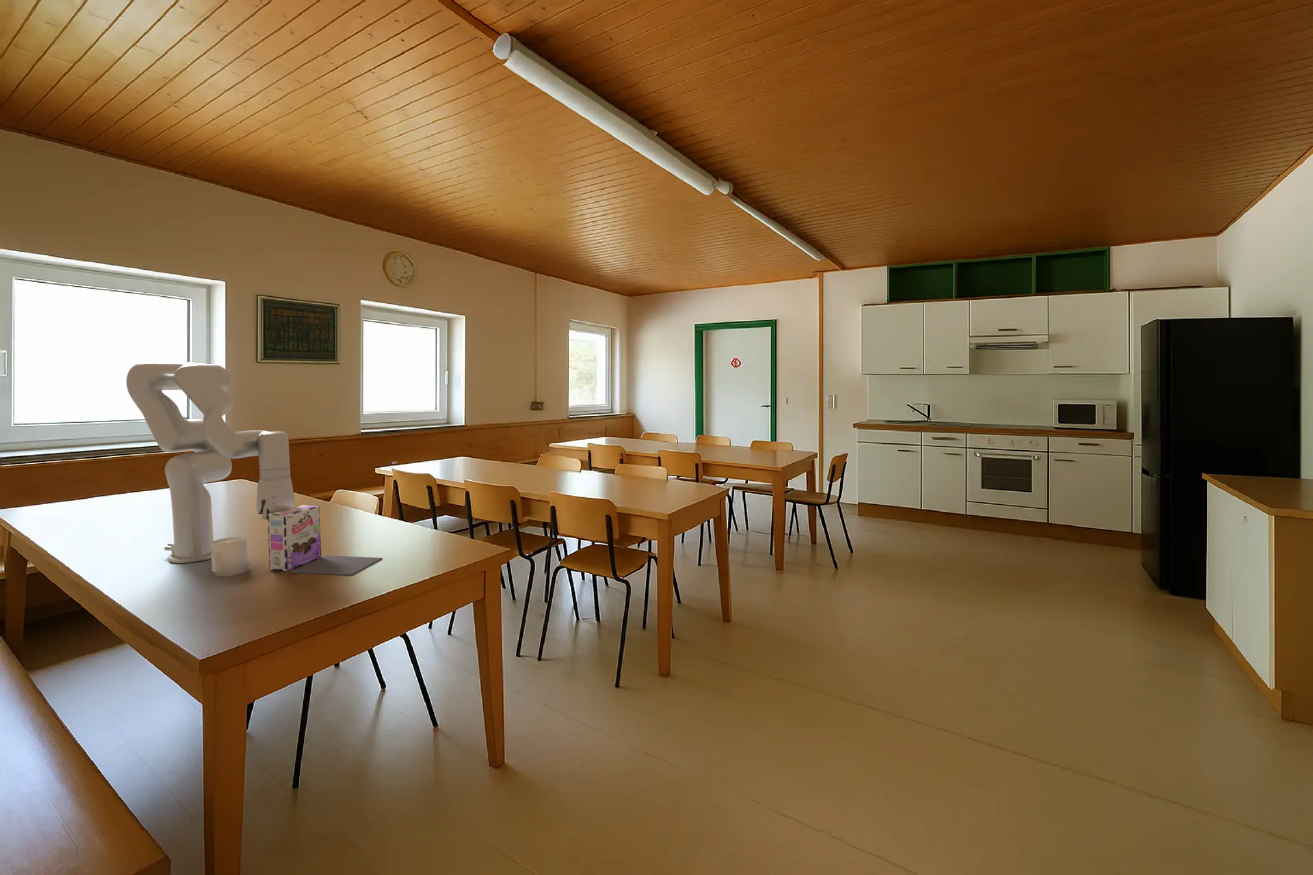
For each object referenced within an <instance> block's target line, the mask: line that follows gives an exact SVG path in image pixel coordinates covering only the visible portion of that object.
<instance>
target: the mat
mask: <svg viewBox="0 0 1313 875" xmlns="http://www.w3.org/2000/svg"><path fill="white" fill-rule="evenodd" d="M382 560H383V557H369V556H368V557H367V556H349V555H347V556H346V555H344V556H343V555H324V556H321V558H320V559H318V560H315V561H312V562H310V563H307V564H304V565H302V566H299V567H297V568H294V569H292V570H290V574H302V575H304V574H305V575H326V576H345V577H346V576H348V577H349V576H350V577H352V576H354V575H356V574H357V573H360V572H362V571H363V570H365V569H367V568H369V567H371V566H372V565H374V564H377V563H378V562H380V561H382Z"/></svg>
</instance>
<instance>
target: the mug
mask: <svg viewBox="0 0 1313 875" xmlns="http://www.w3.org/2000/svg"><path fill="white" fill-rule="evenodd" d="M212 548H213V553H211V559H210V560H211V572H213V575H214V576H216V577H231V576H237V575H240V574H245V573H247V572H248V571H249V555H248V554H249V552H248V538H247V537H246V536H245V537H244V536H230V537H224V538H219V539H216V540H214V541H213V542H212Z"/></svg>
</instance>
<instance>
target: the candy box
mask: <svg viewBox="0 0 1313 875" xmlns="http://www.w3.org/2000/svg"><path fill="white" fill-rule="evenodd" d="M320 513H321V512H320V506H319V505H309V504H308V505H306V504H302V505H300V506H299V505H298V506H295V507H293V508H291V509H287V510H283V511H279V512H275V513H270V514H268V519H267V532H268V535H267V536H268V559H269V560H268V561H269V564H268V565H269V566H268V567H269V570H271V571H281V572H288V571H292V570H295V569H298V568H300V567H302V566H304V565H306V564H309V563H311V562H313V561H315V560H318V559H320V558H322V544H321V543H322V541H321V520H320V519H321V518H320V517H321V516H320Z"/></svg>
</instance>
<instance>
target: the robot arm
mask: <svg viewBox="0 0 1313 875" xmlns="http://www.w3.org/2000/svg"><path fill="white" fill-rule="evenodd" d="M125 384H126V389H127V393H128V394H129V396H130V398H131V400H132V402H134V404H135V406H136V407H137V408H138V410H140V413H141V414H142V416H143V418H144V421H145V422H146V425H147V426H148V428H149V430H150V432H151V434H152V437H153V438H154V440H155V442H156V445H158V447H159V449H160V450H162V451H163V452H165V453H181V452H182V453H183V452H189V453H183V454H179V455H175V456H173V457H172V458H170V459H169V460H168V461H167V463H166V464H165V467H164V474H165V477H166V480H167V485H168V487H169V488H168V489H169V492H170V493H169V494H170V502H171V513H172V515H171V516H172V528H173V529H172V530H173V531H172V532H173V542H168V543H167V544H166V545H165V546H164V548H163V549H164V551H169V552H170V551H171V554H170V555H169V556H168V561H169V562H170V563H174V564H185V563H186V564H187V563H189V564H190V563H195V562H204V561H207V560H211V553H213V548H212V542H213V541H215V540H214V526H213V524H214V523H213V522H214V521H213V509H212V505H213V504H212V498H211V495H210V494H211V493H210V492H209V491H208V489H207V488H206V486H205V484H206V483H210V482H211V483H212V482H216V481H217V482H218V481H222V480H224V479H226V478H227V477H229V475H230V474H232V473H231V472H232V470H233V469H232V468H233V464H232V459H242V458H249V457H257V456H258V463H259V464H258V465H259V466H258V469H259V480H258V482H257V489H256V513H257V514H258V515H262V517H261V519H262V520H268V514H270V513H275V512H279V511H283V510H287V509H291V508H295V507H294V506H295V497H294V496H295V494H294V493H295V492H294V486H293V482H292V477H291V467H290V464H291V463H290V445H289V444H290V442H289V435H288V434H287V432H285V431H278V430H277V431H274V430H272V431H267V430H262V429H261V430H260V429H253V430H251V429H250V430H243V431H242V430H241V431H234V430H232V428H231V427H230V426H229V425H228V423H226V422H225V420H224V418H223V416H225V415H226V414H228V413H229V412H230V411H231V410H232V408H233V407H234V404H235V401H234V399H233V397H232V396H231V395H230V394H229V393H228V392H227V391H226V390H228V389H229V388H230V386H231V385H232V378H231V375H230V373H229V371H228V370H227V369H226V368H224V367H223V366H221V365H219V364H211V363H210V364H207V363H197V362H195V363H194V362H184V361H183V362H182V361H179V362H178V361H162V360H161V361H156V360H155V361H154V360H153V361H142V362H140V363H137V364H134V365H132V366H131V368H130V369H129V370H128V372H127V375H126V383H125ZM180 390H181V391H182V392H183V393H184V394H185V395H186V396H187V398H189V400H190V401H191V402H192V403H193V404H194V406H195V407H197V409H198V410H199V412H200V413H202V414H203V418H202V419H199V418H197V419H196V418H195V419H193V418H192V419H186V418H185V417H184V416H183V415H182V413H181V411H180V409H179V407H178V405H177V404H176V402H175V401H174V400H173V399H171V398H170V397H169V396H168V395H166V394H165V393H164V392H163V391H180ZM190 451H193V452H190Z"/></svg>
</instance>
